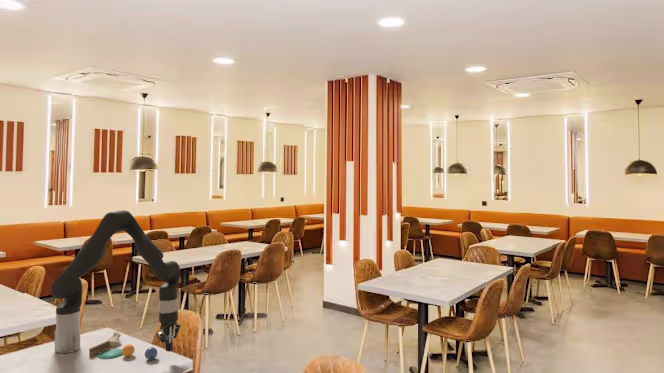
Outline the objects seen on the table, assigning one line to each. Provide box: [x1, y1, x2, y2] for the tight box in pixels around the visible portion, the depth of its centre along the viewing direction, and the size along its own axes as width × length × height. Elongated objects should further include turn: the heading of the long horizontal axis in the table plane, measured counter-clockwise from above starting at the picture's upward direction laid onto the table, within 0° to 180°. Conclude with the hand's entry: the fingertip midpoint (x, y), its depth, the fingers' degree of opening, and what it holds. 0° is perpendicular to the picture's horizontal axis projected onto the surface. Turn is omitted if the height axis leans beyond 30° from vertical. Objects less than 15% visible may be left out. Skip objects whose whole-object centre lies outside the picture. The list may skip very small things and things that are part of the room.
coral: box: [107, 331, 121, 348], centre depth 202 cm, size 6×10×4 cm, turn 31°
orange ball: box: [121, 343, 136, 358], centre depth 186 cm, size 5×5×5 cm
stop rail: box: [88, 340, 111, 358], centre depth 191 cm, size 1×10×4 cm, turn 163°
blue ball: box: [144, 346, 158, 361], centre depth 183 cm, size 5×5×5 cm
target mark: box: [97, 348, 124, 360], centre depth 189 cm, size 11×11×1 cm
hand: (169, 350), depth 180 cm, fingers closed
